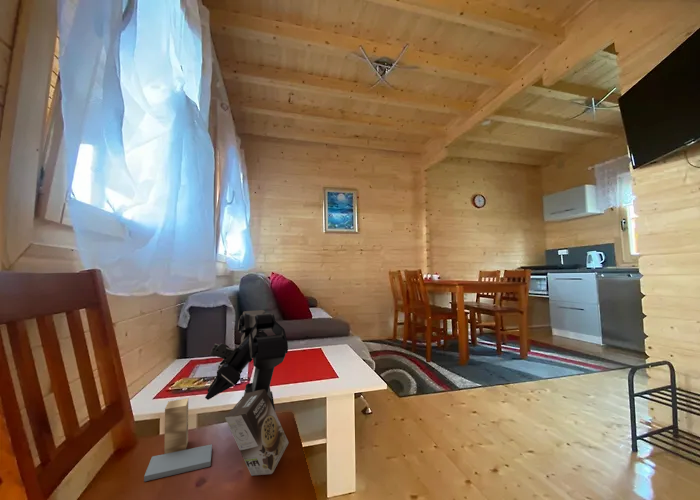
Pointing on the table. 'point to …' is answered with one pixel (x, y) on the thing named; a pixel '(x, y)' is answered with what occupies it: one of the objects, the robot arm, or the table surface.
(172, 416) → the block
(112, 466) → the table surface
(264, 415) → the coffee box
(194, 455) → the slate board
